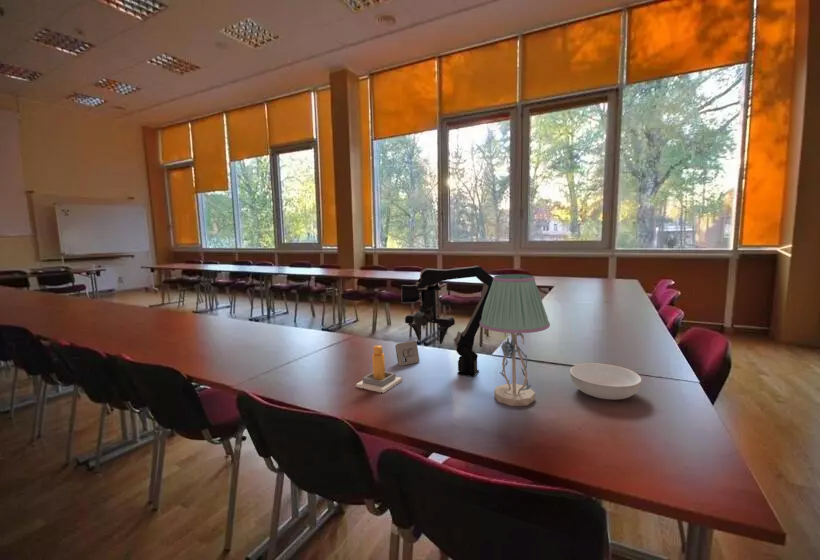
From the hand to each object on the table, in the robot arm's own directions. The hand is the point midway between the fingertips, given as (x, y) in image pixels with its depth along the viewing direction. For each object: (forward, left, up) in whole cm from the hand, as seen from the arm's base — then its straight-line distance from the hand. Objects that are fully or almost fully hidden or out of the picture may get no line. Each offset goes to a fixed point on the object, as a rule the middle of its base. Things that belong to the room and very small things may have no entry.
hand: (430, 342), depth 148 cm
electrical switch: (+16, -8, -13) cm, 22 cm away
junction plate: (+13, +16, -13) cm, 24 cm away
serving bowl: (-59, -10, -13) cm, 61 cm away
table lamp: (-34, +6, -13) cm, 37 cm away
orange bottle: (+13, +16, -12) cm, 24 cm away
